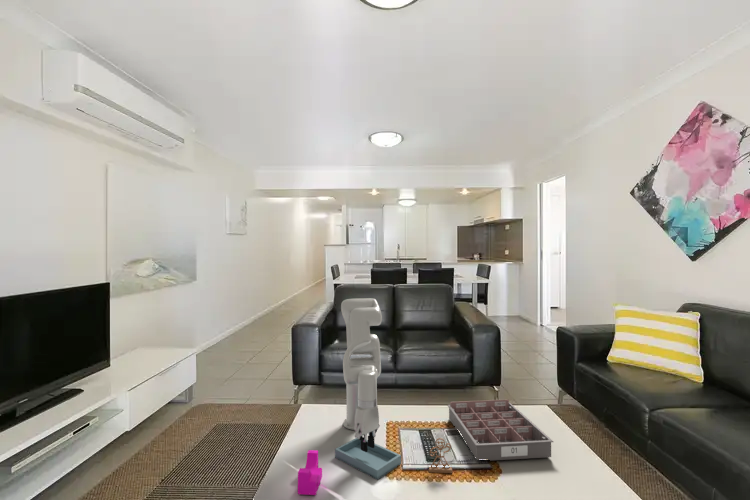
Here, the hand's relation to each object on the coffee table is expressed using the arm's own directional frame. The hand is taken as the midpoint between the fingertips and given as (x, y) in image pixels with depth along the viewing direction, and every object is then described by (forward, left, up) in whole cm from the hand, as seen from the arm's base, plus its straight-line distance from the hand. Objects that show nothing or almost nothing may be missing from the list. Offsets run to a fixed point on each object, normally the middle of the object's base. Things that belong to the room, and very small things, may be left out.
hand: (367, 448), depth 153 cm
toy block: (+23, -6, -6) cm, 25 cm away
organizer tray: (-51, +30, -6) cm, 59 cm away
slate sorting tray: (0, 0, -5) cm, 5 cm away
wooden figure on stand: (-14, +25, -5) cm, 29 cm away
